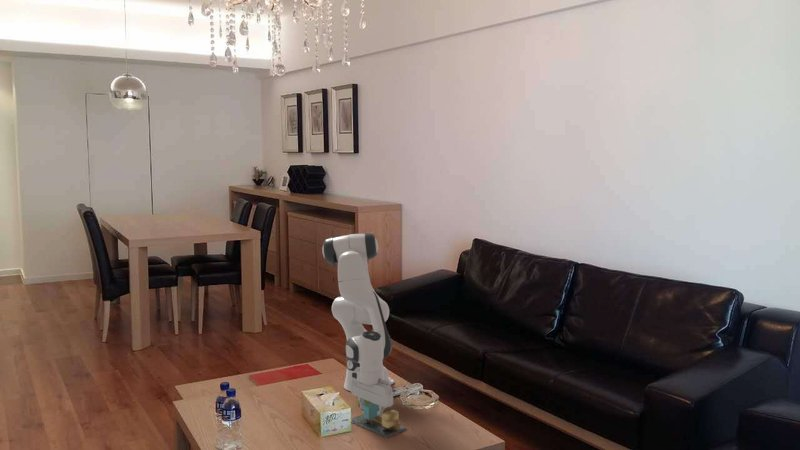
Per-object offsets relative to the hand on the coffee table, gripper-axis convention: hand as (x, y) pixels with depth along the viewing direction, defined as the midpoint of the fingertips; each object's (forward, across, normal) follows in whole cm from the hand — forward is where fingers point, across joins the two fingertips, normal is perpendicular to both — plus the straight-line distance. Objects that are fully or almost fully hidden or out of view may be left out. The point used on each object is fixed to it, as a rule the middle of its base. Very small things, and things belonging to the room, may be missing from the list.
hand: (371, 412), depth 249 cm
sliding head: (+3, 0, 0) cm, 3 cm away
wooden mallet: (+3, -3, 0) cm, 4 cm away
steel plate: (+4, -3, 0) cm, 5 cm away
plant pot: (+4, +15, -10) cm, 19 cm away
